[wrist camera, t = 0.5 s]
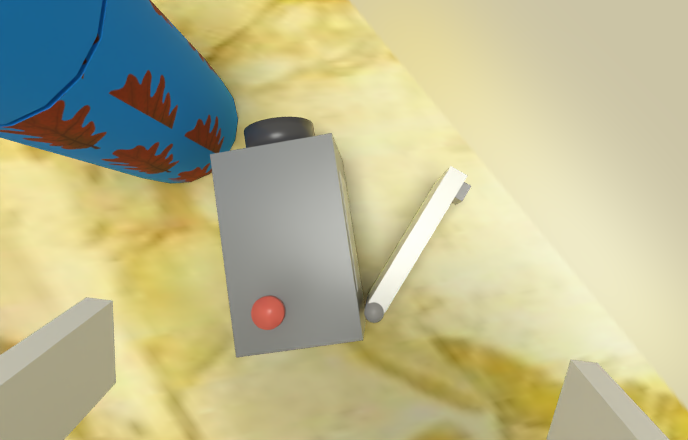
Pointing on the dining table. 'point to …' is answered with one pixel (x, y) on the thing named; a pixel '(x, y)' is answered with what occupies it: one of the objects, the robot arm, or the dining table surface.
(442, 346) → the dining table surface
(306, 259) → the camera body
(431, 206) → the side door
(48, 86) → the thermos
